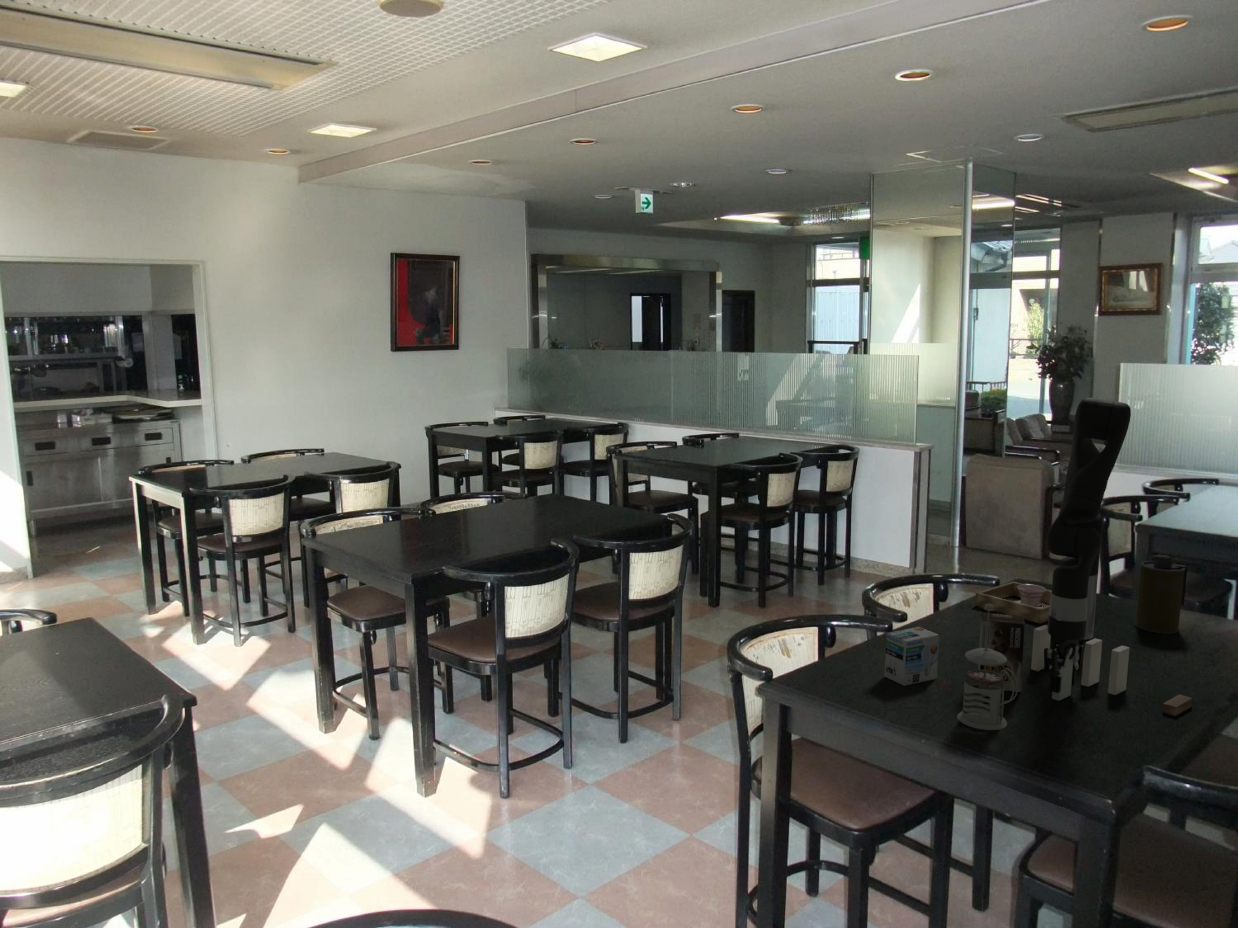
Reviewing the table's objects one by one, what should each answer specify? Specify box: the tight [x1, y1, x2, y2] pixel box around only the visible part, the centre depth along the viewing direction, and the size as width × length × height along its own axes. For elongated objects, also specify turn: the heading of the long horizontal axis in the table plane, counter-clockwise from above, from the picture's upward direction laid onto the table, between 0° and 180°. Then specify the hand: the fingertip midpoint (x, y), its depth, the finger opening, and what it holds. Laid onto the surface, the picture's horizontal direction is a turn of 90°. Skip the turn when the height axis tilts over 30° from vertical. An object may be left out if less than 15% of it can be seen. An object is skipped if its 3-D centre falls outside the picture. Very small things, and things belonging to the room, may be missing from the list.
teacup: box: [1013, 583, 1049, 608], centre depth 269 cm, size 12×12×6 cm
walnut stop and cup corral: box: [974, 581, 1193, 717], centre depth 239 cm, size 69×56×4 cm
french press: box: [956, 604, 1019, 731], centre depth 191 cm, size 10×12×25 cm
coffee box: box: [977, 611, 1026, 693], centre depth 211 cm, size 9×6×16 cm
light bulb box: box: [884, 626, 940, 686], centre depth 216 cm, size 11×7×11 cm, turn 117°
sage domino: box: [1051, 656, 1074, 702], centre depth 205 cm, size 2×5×10 cm, turn 128°
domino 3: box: [1107, 645, 1131, 696], centre depth 208 cm, size 2×5×10 cm, turn 127°
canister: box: [1134, 554, 1188, 635], centre depth 250 cm, size 11×10×20 cm
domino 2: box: [1080, 638, 1103, 687], centre depth 212 cm, size 2×5×10 cm, turn 128°
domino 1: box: [1030, 624, 1052, 672], centre depth 222 cm, size 2×5×10 cm, turn 127°
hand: (1062, 687), depth 205 cm, fingers open, 5 cm apart
